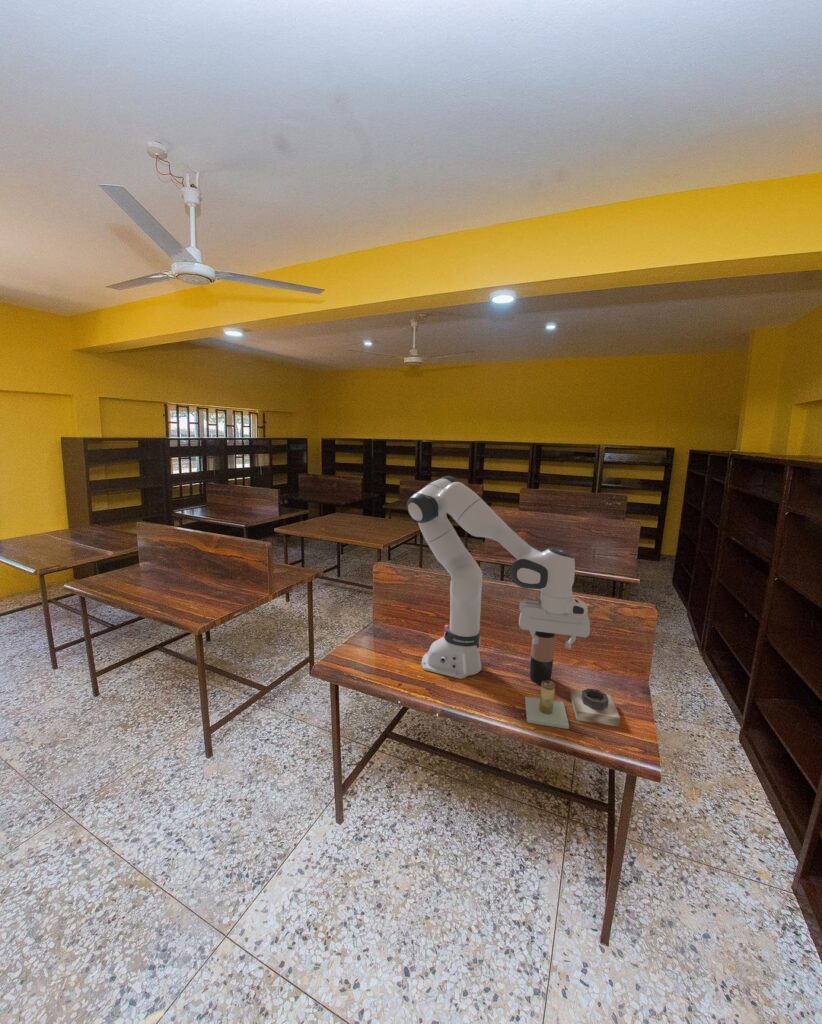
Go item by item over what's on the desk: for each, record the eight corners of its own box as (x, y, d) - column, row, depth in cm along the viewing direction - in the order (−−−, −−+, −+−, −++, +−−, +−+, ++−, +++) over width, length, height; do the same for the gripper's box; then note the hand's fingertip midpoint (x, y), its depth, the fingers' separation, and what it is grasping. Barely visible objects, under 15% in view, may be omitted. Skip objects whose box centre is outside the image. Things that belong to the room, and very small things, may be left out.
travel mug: (550, 675, 152) (554, 623, 149) (552, 686, 145) (557, 632, 142) (528, 672, 154) (532, 621, 151) (529, 683, 147) (533, 629, 144)
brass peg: (539, 713, 129) (542, 686, 127) (538, 705, 133) (540, 679, 131) (553, 715, 128) (556, 688, 126) (552, 707, 132) (554, 681, 130)
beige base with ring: (576, 720, 127) (578, 703, 127) (570, 697, 139) (572, 682, 138) (619, 726, 125) (621, 709, 124) (609, 703, 137) (610, 687, 136)
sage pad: (526, 722, 126) (527, 719, 126) (524, 699, 137) (525, 696, 137) (568, 729, 123) (569, 726, 123) (563, 705, 135) (563, 702, 135)
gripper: (520, 602, 124) (516, 645, 126) (593, 610, 120) (588, 655, 122) (519, 594, 130) (515, 636, 132) (589, 602, 126) (584, 645, 128)
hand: (551, 645), depth 127 cm, fingers open, 8 cm apart
